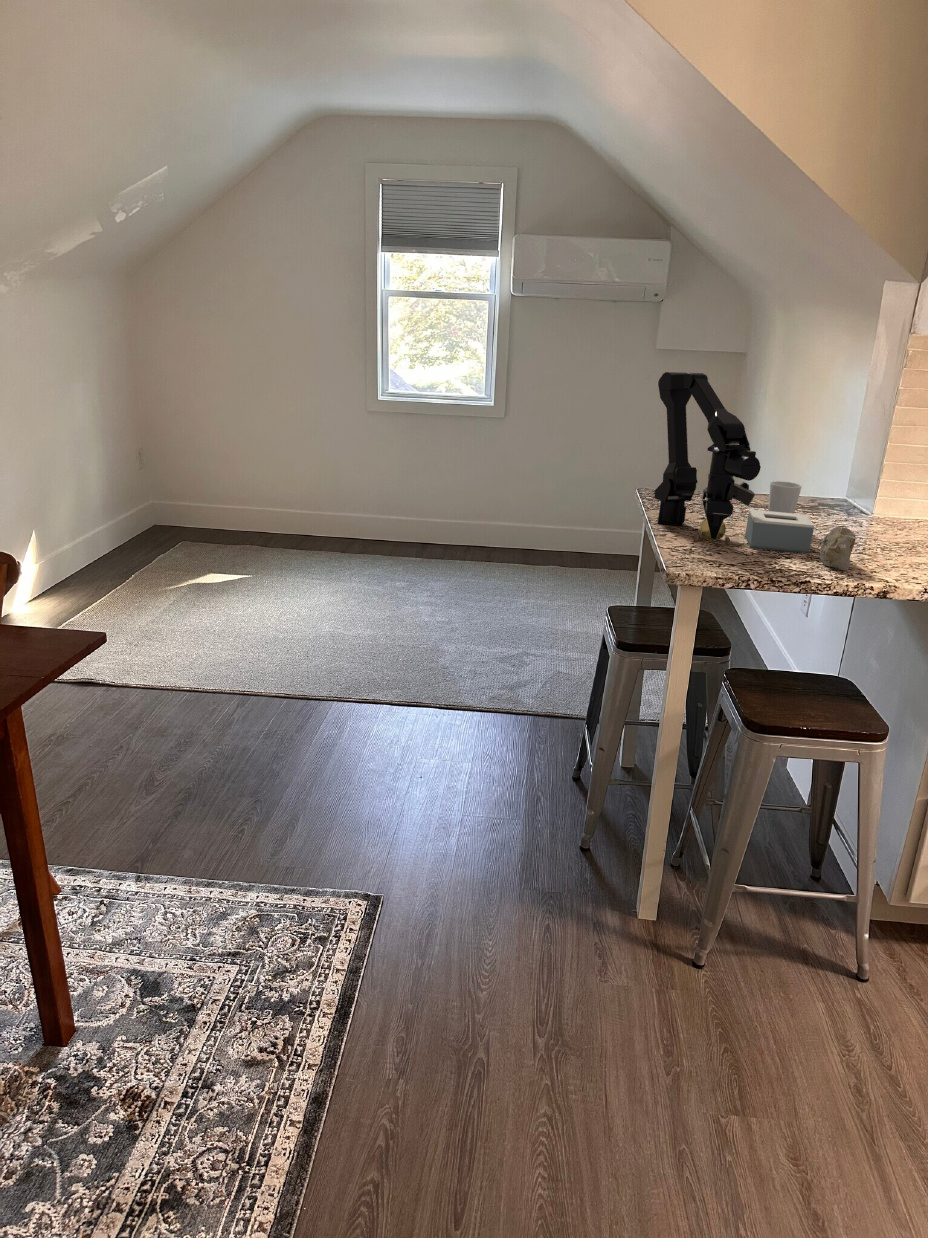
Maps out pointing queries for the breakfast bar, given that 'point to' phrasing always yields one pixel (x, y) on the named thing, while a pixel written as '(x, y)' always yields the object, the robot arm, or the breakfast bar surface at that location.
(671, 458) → the robot arm
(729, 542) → the coin stand
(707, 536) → the coin
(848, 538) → the rock
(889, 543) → the breakfast bar surface
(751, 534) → the box
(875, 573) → the breakfast bar surface
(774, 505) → the cup
